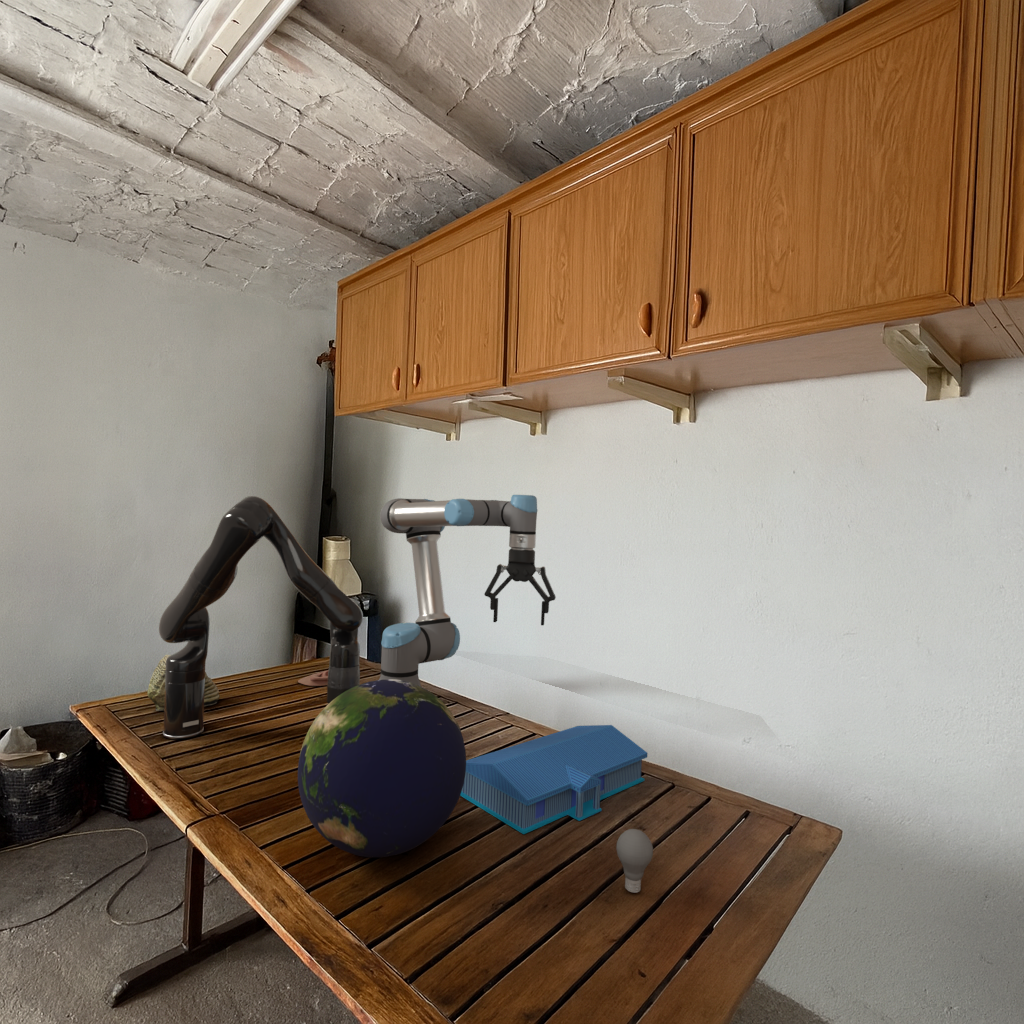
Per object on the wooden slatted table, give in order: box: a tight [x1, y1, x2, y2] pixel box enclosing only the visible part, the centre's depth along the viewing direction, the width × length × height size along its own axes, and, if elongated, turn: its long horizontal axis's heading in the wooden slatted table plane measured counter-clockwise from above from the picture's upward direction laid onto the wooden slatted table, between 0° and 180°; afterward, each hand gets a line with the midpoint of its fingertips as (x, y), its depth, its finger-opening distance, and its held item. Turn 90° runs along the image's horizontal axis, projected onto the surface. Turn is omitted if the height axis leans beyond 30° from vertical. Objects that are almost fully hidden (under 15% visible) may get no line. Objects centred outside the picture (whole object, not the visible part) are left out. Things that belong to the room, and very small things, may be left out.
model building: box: [460, 724, 649, 835], centre depth 142 cm, size 39×24×10 cm, turn 132°
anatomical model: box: [297, 669, 329, 687], centre depth 214 cm, size 13×4×12 cm
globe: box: [297, 679, 467, 858], centre depth 116 cm, size 30×30×30 cm
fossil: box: [147, 654, 221, 712], centre depth 185 cm, size 9×18×15 cm, turn 132°
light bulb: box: [615, 828, 654, 894], centre depth 106 cm, size 6×6×10 cm
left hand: (340, 749), depth 153 cm, fingers open, 8 cm apart
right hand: (518, 623), depth 181 cm, fingers open, 13 cm apart
